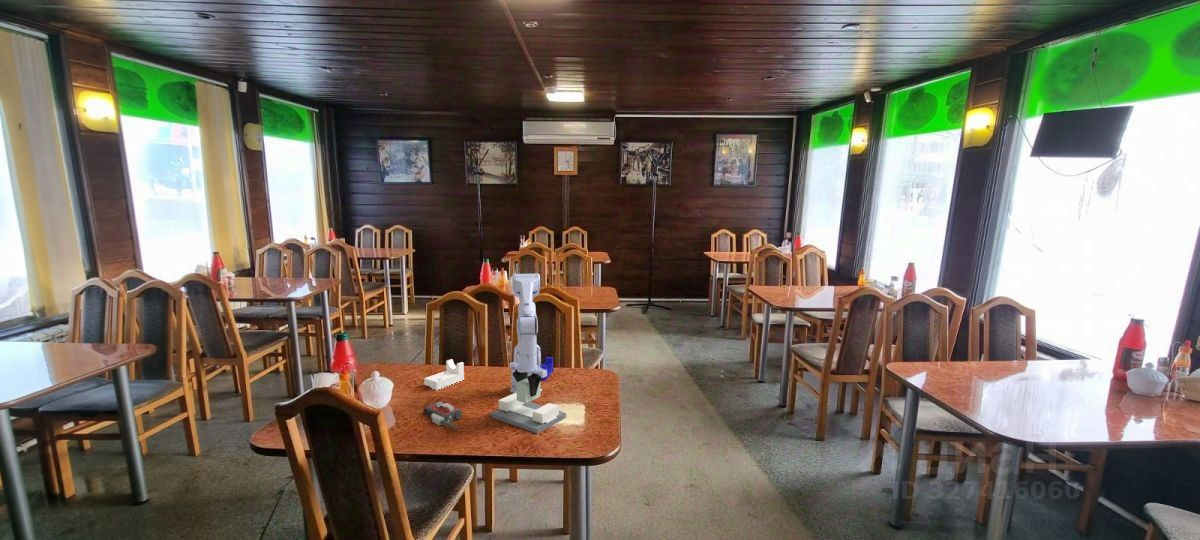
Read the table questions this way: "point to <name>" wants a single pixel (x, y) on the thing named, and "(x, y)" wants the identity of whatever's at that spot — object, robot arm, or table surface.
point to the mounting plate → (527, 414)
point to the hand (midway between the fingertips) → (528, 394)
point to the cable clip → (547, 367)
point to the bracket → (446, 376)
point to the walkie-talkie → (443, 413)
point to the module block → (526, 391)
